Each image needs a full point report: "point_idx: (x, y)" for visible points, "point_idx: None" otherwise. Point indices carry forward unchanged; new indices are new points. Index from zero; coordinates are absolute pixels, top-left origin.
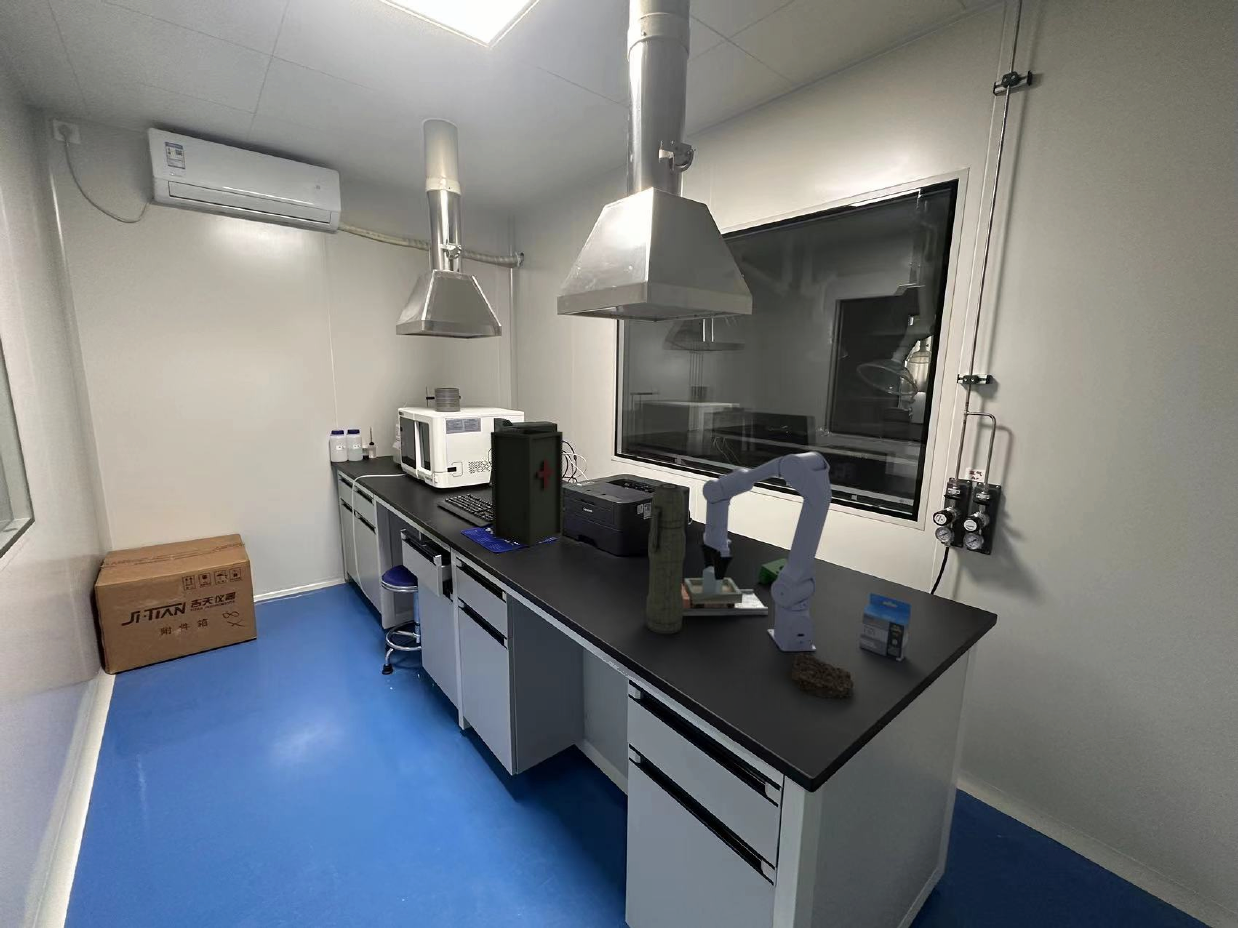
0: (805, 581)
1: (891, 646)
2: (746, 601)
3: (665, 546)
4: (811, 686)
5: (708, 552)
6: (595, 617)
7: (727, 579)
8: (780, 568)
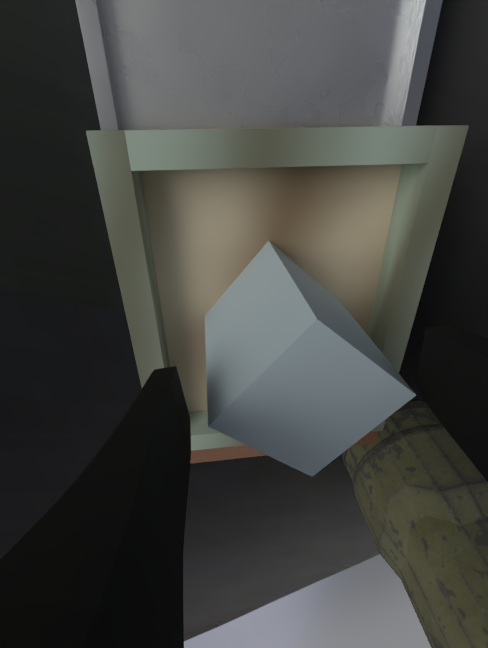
0: None
1: None
2: (267, 27)
3: None
4: None
5: (164, 601)
6: (314, 559)
7: (130, 173)
8: None
